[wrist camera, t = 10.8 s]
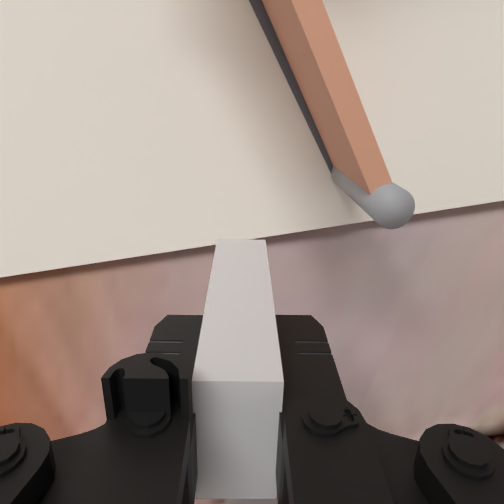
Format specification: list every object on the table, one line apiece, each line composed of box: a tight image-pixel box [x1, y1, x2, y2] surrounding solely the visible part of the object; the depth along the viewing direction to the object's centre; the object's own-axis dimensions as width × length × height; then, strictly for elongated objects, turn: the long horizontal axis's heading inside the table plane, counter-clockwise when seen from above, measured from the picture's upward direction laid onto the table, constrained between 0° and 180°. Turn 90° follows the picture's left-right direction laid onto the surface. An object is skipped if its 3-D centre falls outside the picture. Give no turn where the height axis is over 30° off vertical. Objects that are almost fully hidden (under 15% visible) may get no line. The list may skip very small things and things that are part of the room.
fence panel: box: [262, 0, 415, 229], centre depth 15 cm, size 13×1×7 cm, turn 27°
